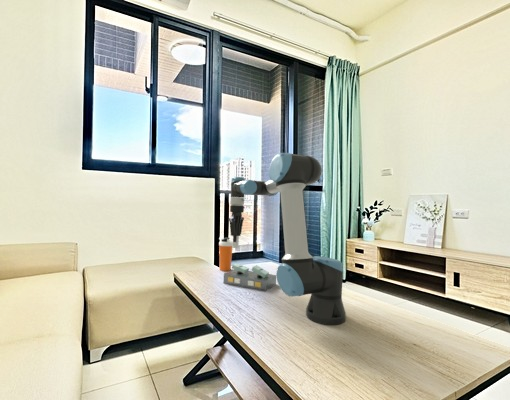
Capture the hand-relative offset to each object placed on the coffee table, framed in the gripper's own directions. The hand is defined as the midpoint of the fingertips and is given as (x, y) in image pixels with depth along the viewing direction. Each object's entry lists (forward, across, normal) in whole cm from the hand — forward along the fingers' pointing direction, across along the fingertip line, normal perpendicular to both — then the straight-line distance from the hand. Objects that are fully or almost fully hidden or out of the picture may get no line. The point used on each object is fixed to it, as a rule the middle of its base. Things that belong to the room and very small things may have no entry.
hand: (235, 247), depth 153 cm
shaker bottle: (+19, +18, +17) cm, 31 cm away
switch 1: (+11, 0, -4) cm, 11 cm away
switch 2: (+11, 0, -16) cm, 19 cm away
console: (+18, 0, -10) cm, 21 cm away
